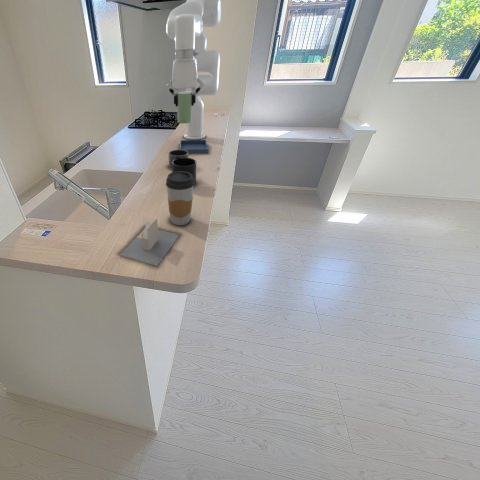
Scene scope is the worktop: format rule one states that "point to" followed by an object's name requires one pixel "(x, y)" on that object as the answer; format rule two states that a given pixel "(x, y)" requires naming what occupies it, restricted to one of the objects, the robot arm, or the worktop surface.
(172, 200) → the coffee cup
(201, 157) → the worktop surface
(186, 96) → the green cup
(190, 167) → the mug
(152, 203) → the worktop surface
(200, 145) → the tray
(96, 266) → the worktop surface
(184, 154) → the dark gray cup
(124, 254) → the architectural model
